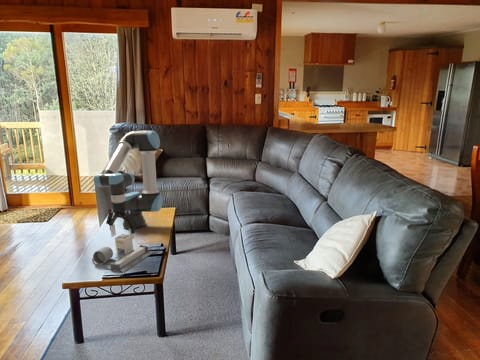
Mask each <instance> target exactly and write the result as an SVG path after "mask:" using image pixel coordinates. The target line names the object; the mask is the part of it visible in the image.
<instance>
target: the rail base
mask: <svg viewBox="0 0 480 360" xmlns="http://www.w3.org/2000/svg"><path fill="white" fill-rule="evenodd" d="M153 252H154V251H151V250H149V245H143V244H140V245H139V248H136V249H133V251H131V252H130V253H128V254H125V255H124V256H122V258H120V259H118V260H115V262H110V263H109V265H107V267H105V269H106V270H109V269H110V270H109V271H114V270H116V271H115V272H118V271H121V272H120V273H123V272H124V273H125V271H126V270H127V271H128V269H129V270H130V269H131V268H133V267H135V266H136V265H138V264H139V263H141V262H143V260H145V259H146V258H148V257H149V256H152V255H153V254H154V253H153ZM127 271H126V272H127Z"/></svg>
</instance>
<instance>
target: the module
mask: <svg viewBox="0 0 480 360" xmlns="http://www.w3.org/2000/svg"><path fill="white" fill-rule="evenodd" d="M114 242H115V250H116V254H119V253H120V252H122V251H124V255H128V254H129V253H131V252H132V251H134V244H133V243H134V242H133V239H132V240H130V234H125V233H122V234H121V233H120V235H117V236H116V237H114Z"/></svg>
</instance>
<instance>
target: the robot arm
mask: <svg viewBox="0 0 480 360" xmlns="http://www.w3.org/2000/svg"><path fill="white" fill-rule="evenodd" d="M116 145H117V146H116V148H115V150H114V152H113V154H112V155H111V157H110V158H109V159H108V160H109V161H108V162H107V163H106V165H105V167H104V168H103V170H102V172H101V173H97V174H95V175H94V177H93V183H94V185H95V186H96V187H101V188H105V187H106V188H107V187H109V191H110V201H111V208H109V209H108V216H107V219H106V224H107V225H108V226H109V230H110V234H111V237H115V236H117V233H116V232H117V231H116V225H115V222H116V220H117V219H118V218H119V219H122V220H123V223H122V227H124V228H126V229H125V230H128V234H129V235H130V240H132V241H133V240H134V239H135V230H137V228H138V229H141V228H143V227H145V226H146V225H147V222H146V219H145V217H144V215H143V213H144V212H145V213H147V212H149V213H150V212H151V213H157V212H159V211H160V210H161V209H162V207H163V203H164V202H163V201H164V197H163V195H162V194H160V190H159V189H158V188H157V169H156V153H157V152H158V149H159V148H160V147H161V139H160V135H159V134H158V133H157V132H156V130H133V131H129V132H127V133H126V134H124V135H123V136H122V137H121V138H120V139H119V140H118V142H117V144H116ZM135 149H136V150H137V149H138V152H139V153H140V154H141V166H142V168H141V169H142V184H143V187H142V188H143V190H142V191H141V192H140V191H132V192H128V193H126V192H125V190H126V189H125V188H127V187H128V188H129V187H130V186H131V185H133V184H134V183H135V179H136V178H135V175H134V174H133V173H131V172H128V171H127V172H124V173H119V170H120V168H121V166H122V165H123V163H124V161H125V159H126V158H127V157H128V155H129V153H131V152H132V150H135ZM124 228H123V229H124Z"/></svg>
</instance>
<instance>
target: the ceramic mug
mask: <svg viewBox="0 0 480 360" xmlns="http://www.w3.org/2000/svg"><path fill="white" fill-rule="evenodd" d="M113 255H114V252H113V249H112V248H110V247H109V246H103V247H102V248H100V249H97V250H96V251H95V252H94V253H93V254H92V258H91V260H92V262H94V263H96V264H97V265H101V266H102V265H103V264H106V262H109V260H110V259H111V258H112V257H113Z"/></svg>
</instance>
